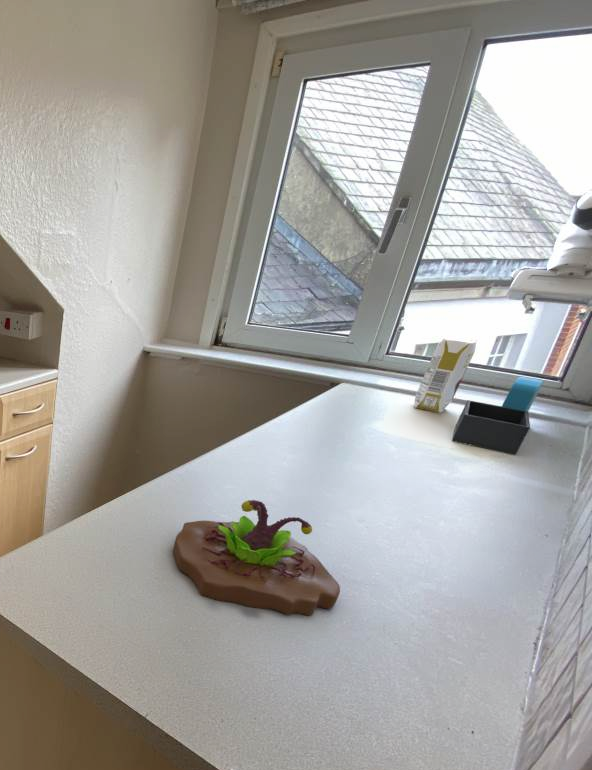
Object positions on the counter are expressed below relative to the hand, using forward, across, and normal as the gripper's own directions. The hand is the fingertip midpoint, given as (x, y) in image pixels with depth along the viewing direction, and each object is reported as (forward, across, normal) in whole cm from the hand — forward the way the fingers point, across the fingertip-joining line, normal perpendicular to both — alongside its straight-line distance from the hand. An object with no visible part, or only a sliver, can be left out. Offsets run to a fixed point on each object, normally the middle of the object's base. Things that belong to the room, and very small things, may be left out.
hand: (554, 314), depth 136 cm
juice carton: (+24, -16, +14) cm, 32 cm away
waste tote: (+39, -5, -2) cm, 39 cm away
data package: (+27, 0, +10) cm, 29 cm away
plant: (+107, -34, -74) cm, 135 cm away
